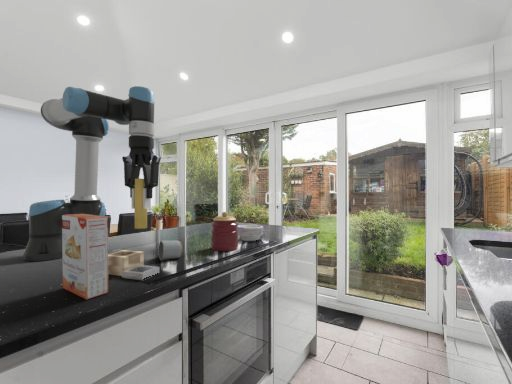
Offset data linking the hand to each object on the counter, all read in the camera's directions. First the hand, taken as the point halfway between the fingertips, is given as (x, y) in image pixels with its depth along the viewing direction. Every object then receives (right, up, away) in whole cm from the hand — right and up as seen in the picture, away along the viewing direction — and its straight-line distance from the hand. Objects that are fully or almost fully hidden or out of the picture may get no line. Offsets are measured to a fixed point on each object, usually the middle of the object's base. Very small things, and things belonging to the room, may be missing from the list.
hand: (141, 208), depth 88 cm
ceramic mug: (+2, -22, +23) cm, 32 cm away
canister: (+22, -22, +41) cm, 52 cm away
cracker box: (-9, -22, -14) cm, 28 cm away
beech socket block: (-8, -22, +5) cm, 24 cm away
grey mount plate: (0, -22, 0) cm, 22 cm away
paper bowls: (+34, -22, +65) cm, 76 cm away
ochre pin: (0, -6, 0) cm, 6 cm away
